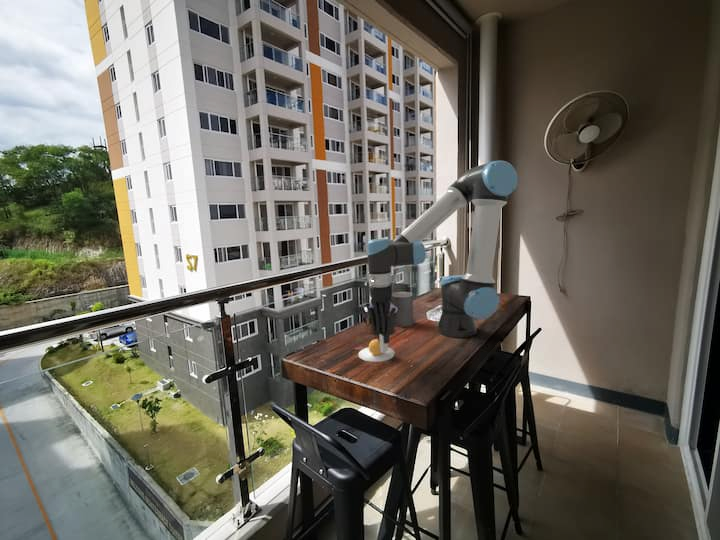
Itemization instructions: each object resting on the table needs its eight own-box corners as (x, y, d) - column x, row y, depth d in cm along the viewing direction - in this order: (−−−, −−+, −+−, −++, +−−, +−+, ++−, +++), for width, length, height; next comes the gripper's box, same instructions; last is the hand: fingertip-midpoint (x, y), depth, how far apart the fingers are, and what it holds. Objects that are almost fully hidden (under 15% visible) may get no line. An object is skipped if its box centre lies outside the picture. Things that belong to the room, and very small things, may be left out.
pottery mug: (390, 327, 144) (390, 315, 139) (380, 343, 138) (378, 330, 133) (367, 318, 150) (366, 305, 145) (356, 332, 144) (354, 320, 139)
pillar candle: (387, 324, 148) (386, 292, 145) (401, 318, 154) (400, 287, 151) (404, 329, 140) (402, 295, 138) (418, 323, 147) (417, 290, 144)
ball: (387, 353, 117) (374, 349, 120) (387, 339, 116) (374, 335, 119) (378, 359, 113) (365, 355, 116) (378, 344, 111) (365, 340, 115)
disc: (374, 344, 126) (374, 343, 126) (402, 351, 117) (402, 351, 117) (350, 355, 116) (350, 355, 116) (379, 365, 108) (379, 364, 107)
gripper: (358, 285, 112) (363, 350, 115) (389, 289, 103) (392, 359, 107) (373, 281, 117) (376, 344, 121) (402, 284, 108) (405, 351, 112)
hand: (384, 351), depth 114 cm, fingers closed
